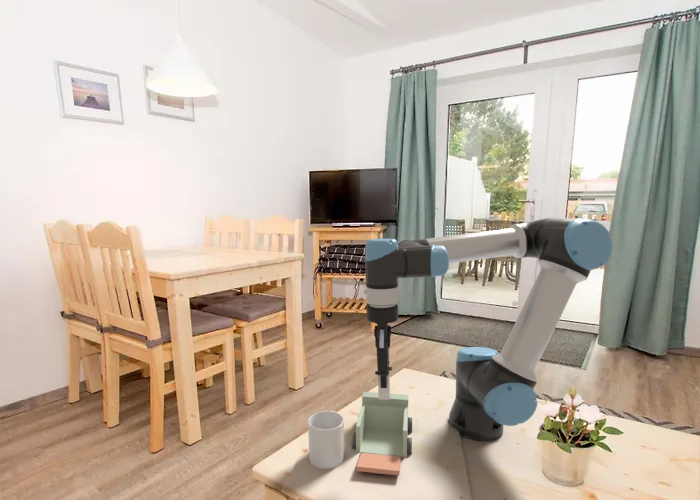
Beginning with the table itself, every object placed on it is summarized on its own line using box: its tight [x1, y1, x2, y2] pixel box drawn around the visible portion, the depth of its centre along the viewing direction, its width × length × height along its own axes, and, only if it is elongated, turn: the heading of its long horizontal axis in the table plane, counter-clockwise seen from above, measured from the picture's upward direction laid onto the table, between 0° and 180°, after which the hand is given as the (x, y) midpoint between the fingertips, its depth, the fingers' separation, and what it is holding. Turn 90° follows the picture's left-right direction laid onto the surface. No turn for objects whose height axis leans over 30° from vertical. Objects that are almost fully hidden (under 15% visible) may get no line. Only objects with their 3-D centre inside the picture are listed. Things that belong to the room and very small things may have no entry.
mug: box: [307, 410, 345, 470], centre depth 100 cm, size 12×9×11 cm
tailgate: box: [356, 452, 403, 476], centre depth 96 cm, size 10×2×9 cm
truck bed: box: [351, 391, 413, 458], centre depth 107 cm, size 15×15×10 cm
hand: (384, 398), depth 96 cm, fingers closed
